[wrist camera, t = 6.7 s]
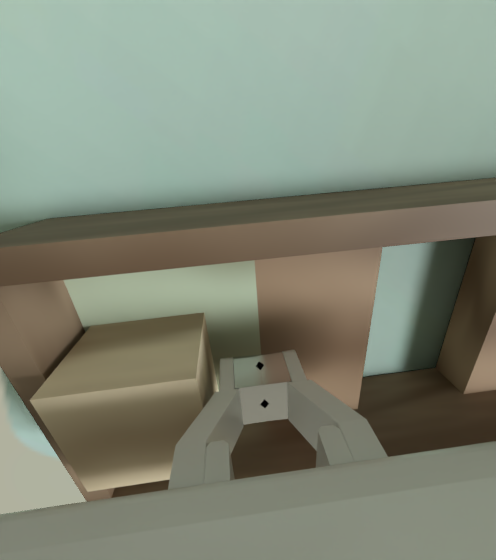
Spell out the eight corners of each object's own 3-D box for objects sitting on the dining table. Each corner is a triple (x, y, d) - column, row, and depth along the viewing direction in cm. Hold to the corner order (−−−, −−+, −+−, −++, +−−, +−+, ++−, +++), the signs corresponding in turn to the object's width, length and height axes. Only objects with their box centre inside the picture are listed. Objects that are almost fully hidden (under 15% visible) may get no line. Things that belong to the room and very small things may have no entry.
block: (91, 325, 10) (29, 400, 7) (204, 312, 10) (195, 378, 7) (123, 404, 12) (87, 491, 9) (218, 392, 12) (217, 472, 9)
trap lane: (48, 218, 10) (-72, 254, 6) (679, 161, 12) (929, 158, 7) (129, 420, 15) (94, 514, 11) (562, 362, 17) (673, 426, 12)
